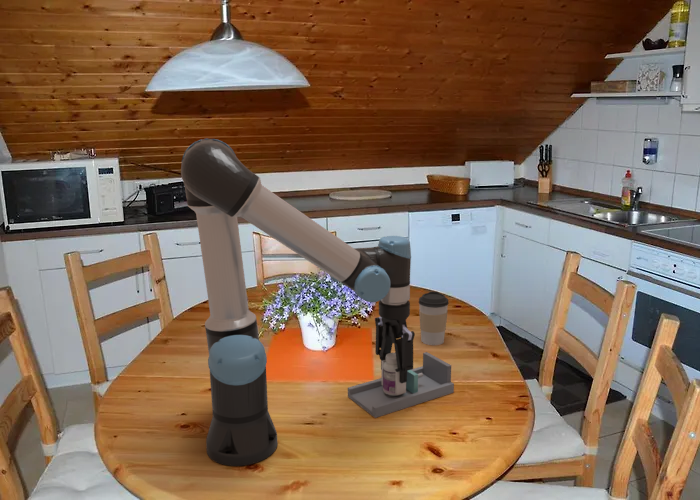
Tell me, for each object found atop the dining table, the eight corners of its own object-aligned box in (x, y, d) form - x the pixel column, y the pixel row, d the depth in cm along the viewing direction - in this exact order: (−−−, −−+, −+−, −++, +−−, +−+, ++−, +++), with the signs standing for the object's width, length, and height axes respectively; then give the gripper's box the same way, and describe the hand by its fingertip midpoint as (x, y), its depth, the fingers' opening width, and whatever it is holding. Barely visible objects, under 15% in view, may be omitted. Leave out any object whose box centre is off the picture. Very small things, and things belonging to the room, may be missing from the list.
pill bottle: (391, 384, 157) (391, 349, 155) (408, 390, 154) (409, 354, 151) (378, 392, 153) (378, 356, 151) (396, 398, 150) (396, 361, 147)
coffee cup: (447, 347, 184) (448, 300, 180) (417, 345, 185) (417, 298, 182) (447, 336, 193) (448, 290, 189) (418, 334, 194) (419, 289, 190)
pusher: (413, 394, 152) (414, 375, 151) (397, 383, 158) (397, 365, 157) (430, 388, 155) (430, 370, 154) (413, 378, 161) (413, 360, 160)
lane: (375, 417, 144) (375, 390, 142) (347, 396, 154) (347, 371, 152) (453, 392, 156) (454, 367, 154) (423, 374, 166) (423, 350, 165)
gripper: (430, 308, 142) (428, 399, 147) (385, 288, 157) (385, 371, 163) (404, 314, 138) (403, 407, 144) (360, 293, 153) (361, 378, 159)
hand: (393, 388), depth 153 cm, fingers closed on pill bottle, 5 cm apart
